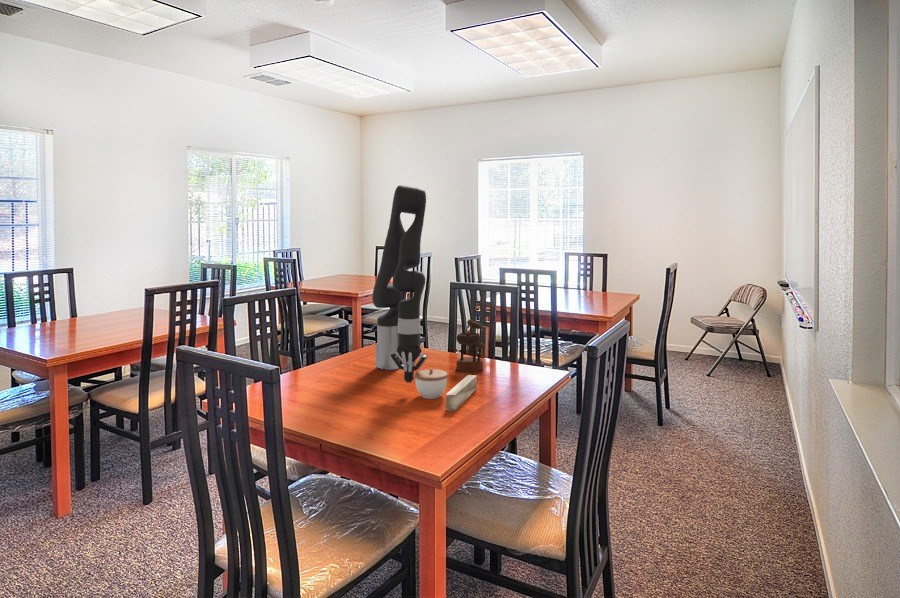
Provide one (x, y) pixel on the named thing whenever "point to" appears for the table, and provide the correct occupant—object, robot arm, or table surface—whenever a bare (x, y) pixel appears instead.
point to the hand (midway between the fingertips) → (409, 381)
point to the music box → (469, 339)
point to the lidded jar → (431, 382)
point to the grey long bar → (461, 392)
